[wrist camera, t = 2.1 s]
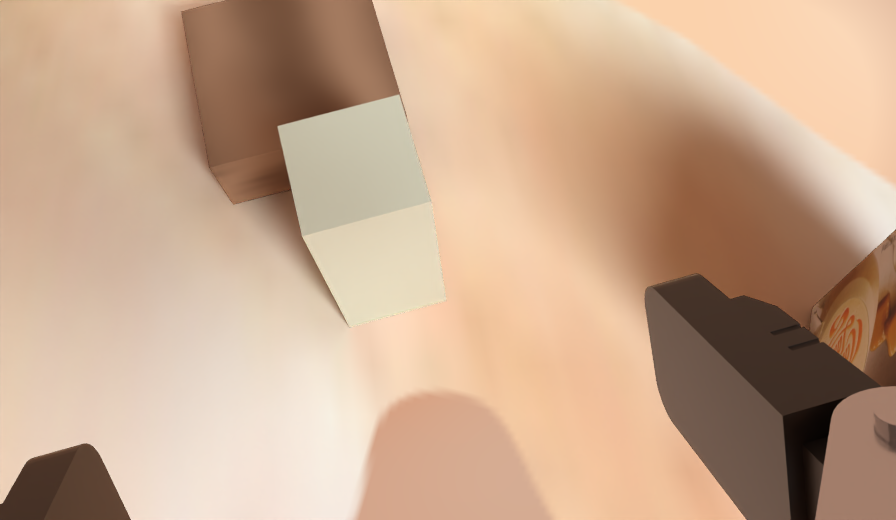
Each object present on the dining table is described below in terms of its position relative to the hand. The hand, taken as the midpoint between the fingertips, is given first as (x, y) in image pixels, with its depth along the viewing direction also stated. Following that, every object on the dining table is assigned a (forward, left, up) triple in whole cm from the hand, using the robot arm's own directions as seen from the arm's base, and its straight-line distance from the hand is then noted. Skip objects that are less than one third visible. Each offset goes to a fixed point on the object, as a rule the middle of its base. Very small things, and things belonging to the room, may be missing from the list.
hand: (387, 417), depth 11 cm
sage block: (0, +14, -27) cm, 30 cm away
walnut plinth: (-2, +25, -27) cm, 36 cm away
